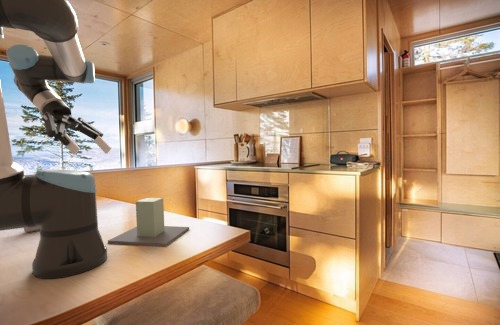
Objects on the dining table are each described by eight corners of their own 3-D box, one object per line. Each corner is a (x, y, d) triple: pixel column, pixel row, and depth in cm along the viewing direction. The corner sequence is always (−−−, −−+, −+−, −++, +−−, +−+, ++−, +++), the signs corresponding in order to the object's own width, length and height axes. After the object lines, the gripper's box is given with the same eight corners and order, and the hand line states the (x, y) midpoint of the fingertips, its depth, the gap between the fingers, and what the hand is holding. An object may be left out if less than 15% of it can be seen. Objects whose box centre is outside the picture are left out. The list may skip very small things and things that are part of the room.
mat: (166, 246, 75) (166, 243, 75) (107, 243, 78) (107, 240, 78) (189, 229, 91) (189, 227, 91) (139, 227, 94) (139, 225, 94)
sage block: (154, 236, 81) (153, 201, 80) (137, 236, 82) (135, 201, 81) (164, 230, 87) (163, 198, 86) (148, 230, 88) (146, 197, 87)
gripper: (77, 119, 102) (113, 157, 100) (7, 111, 77) (53, 161, 75) (88, 105, 100) (125, 143, 98) (20, 91, 76) (67, 142, 74)
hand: (94, 151), depth 87 cm, fingers open, 13 cm apart
